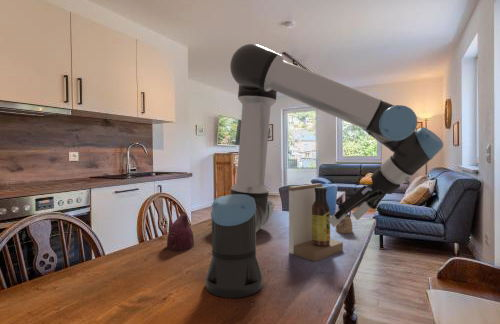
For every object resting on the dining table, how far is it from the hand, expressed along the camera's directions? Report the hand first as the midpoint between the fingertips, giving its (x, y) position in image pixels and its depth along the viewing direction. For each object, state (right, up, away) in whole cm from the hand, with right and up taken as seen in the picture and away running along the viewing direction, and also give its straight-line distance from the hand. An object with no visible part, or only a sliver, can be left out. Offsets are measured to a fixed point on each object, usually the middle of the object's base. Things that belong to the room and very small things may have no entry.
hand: (343, 219), depth 96 cm
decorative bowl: (-33, -13, +39) cm, 53 cm away
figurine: (+11, -12, +35) cm, 39 cm away
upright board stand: (-7, -13, +9) cm, 17 cm away
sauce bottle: (-5, -10, +8) cm, 14 cm away
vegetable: (-57, -14, +16) cm, 60 cm away
